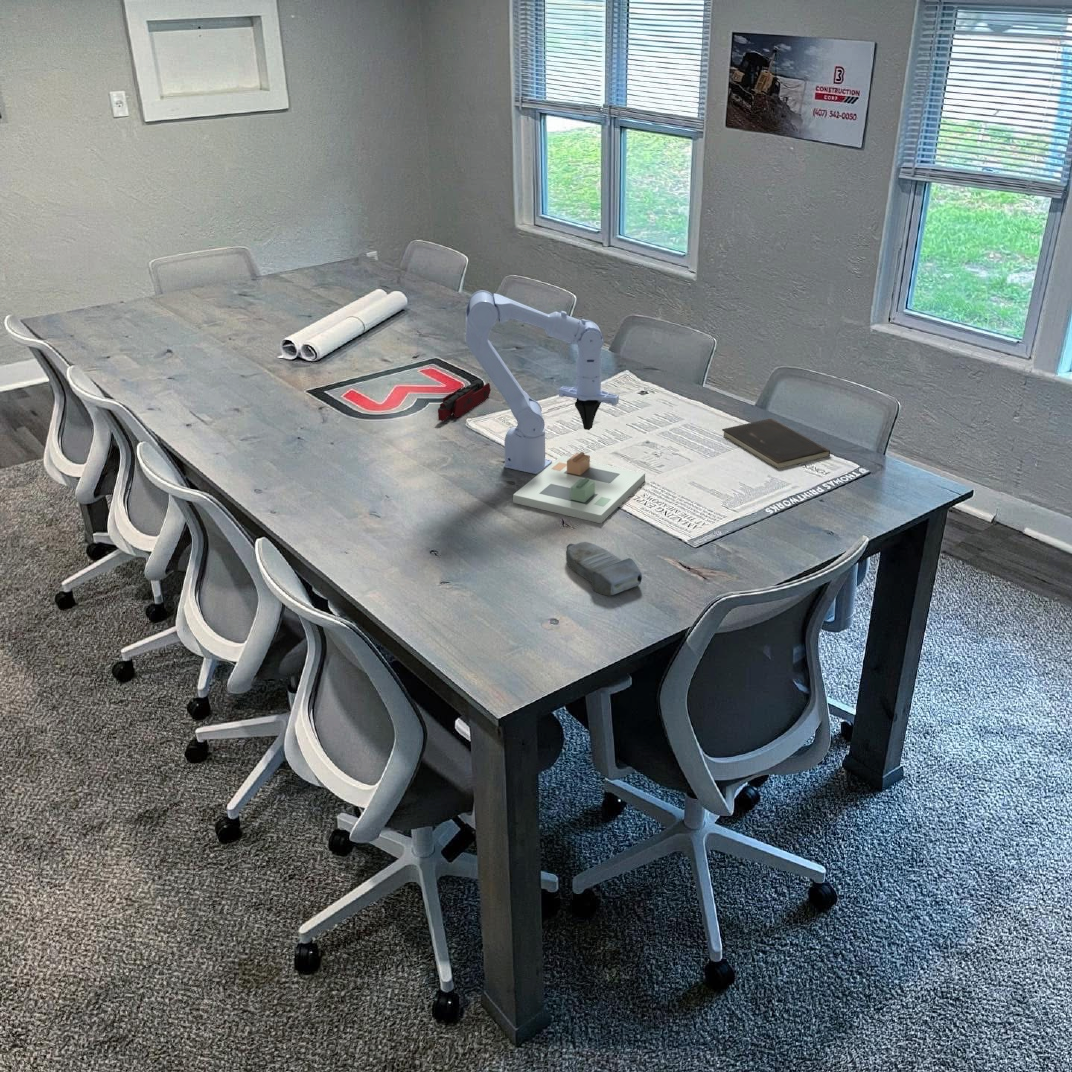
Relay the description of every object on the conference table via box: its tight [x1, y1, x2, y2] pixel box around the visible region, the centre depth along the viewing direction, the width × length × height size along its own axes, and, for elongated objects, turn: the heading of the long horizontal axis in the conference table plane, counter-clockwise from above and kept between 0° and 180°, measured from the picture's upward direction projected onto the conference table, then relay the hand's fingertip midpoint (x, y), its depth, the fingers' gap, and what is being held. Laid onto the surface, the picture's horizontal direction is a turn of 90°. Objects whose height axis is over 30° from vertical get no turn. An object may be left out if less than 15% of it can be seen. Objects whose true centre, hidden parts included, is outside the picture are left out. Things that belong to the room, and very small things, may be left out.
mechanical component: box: [437, 379, 492, 422], centre depth 288 cm, size 23×4×6 cm, turn 153°
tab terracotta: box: [567, 451, 591, 475], centre depth 248 cm, size 4×5×4 cm
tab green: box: [571, 478, 595, 503], centre depth 235 cm, size 4×5×4 cm
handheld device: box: [565, 541, 643, 596], centre depth 211 cm, size 10×20×5 cm, turn 34°
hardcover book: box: [721, 418, 831, 469], centre depth 264 cm, size 16×23×2 cm
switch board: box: [512, 454, 646, 524], centre depth 243 cm, size 22×24×2 cm
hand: (588, 428), depth 253 cm, fingers closed
